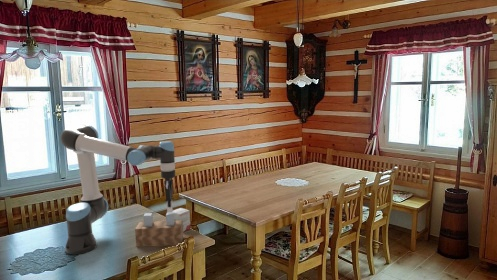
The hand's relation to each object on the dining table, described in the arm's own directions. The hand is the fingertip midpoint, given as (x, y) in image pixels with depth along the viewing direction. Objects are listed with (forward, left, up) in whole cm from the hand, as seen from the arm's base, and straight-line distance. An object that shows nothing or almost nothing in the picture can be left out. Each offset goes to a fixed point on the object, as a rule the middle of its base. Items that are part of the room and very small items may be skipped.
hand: (170, 211), depth 192 cm
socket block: (-6, 0, -17) cm, 18 cm away
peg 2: (0, 0, -11) cm, 11 cm away
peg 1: (-12, 0, -11) cm, 16 cm away
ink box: (+3, +17, -17) cm, 24 cm away
